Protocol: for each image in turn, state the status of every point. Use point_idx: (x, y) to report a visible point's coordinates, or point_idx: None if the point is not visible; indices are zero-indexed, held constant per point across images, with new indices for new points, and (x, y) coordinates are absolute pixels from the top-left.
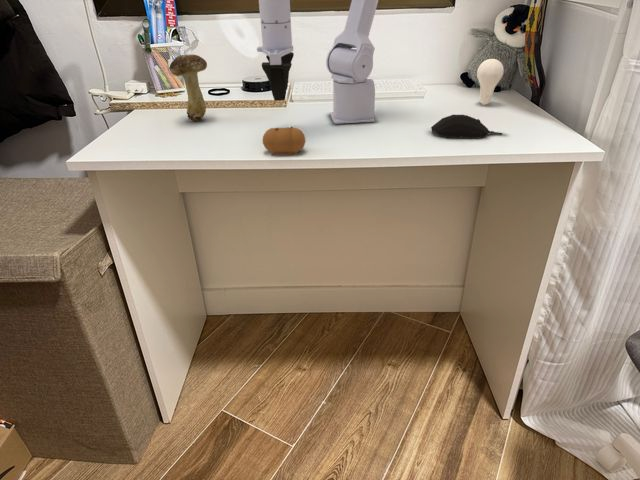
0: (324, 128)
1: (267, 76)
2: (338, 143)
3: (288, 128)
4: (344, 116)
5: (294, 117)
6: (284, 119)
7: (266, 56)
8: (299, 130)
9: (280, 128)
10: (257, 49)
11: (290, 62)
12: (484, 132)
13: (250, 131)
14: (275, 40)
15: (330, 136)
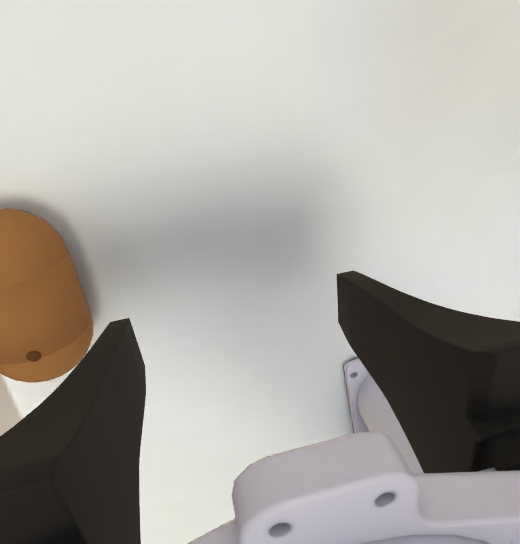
0: (307, 341)
1: (11, 432)
2: (167, 407)
3: (14, 349)
4: (365, 399)
5: (440, 213)
6: (421, 178)
7: (493, 355)
8: (34, 380)
9: (1, 318)
10: (247, 502)
11: (425, 471)
12: None
13: (266, 53)
14: None
15: (229, 374)
